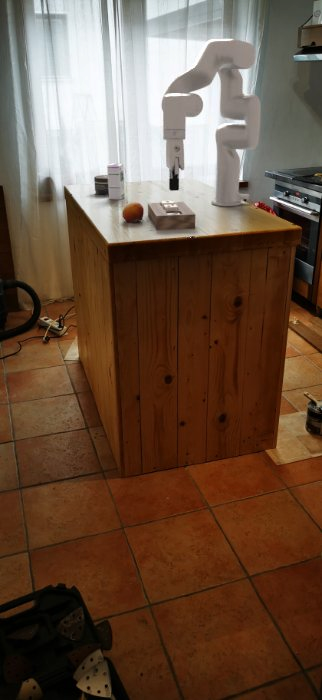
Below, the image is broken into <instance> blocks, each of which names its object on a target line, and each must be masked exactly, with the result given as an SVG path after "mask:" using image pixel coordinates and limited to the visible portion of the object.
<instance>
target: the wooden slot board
mask: <svg viewBox="0 0 322 700" xmlns="http://www.w3.org/2000/svg"><path fill="white" fill-rule="evenodd" d="M173 202H174V204H176V205H177V206H178V210H164V206H161V202H148V203H147V217H148V218H149V219H148V220H150V221H151V224H152V225H153V227H154V229H155V230H156V231H163V230H164V231H165V230H166V231H167V230H187V229H188V230H189V229H190V230H192V229H196V213H195V211H193V210H192V209H191V207H189V206H188V205H187V204H186V203H185V202H184V201H173ZM167 213H180V214H171V215H168V214H167Z"/></svg>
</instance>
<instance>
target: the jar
mask: <svg viewBox="0 0 322 700" xmlns="http://www.w3.org/2000/svg"><path fill="white" fill-rule="evenodd" d="M93 180H94V181H93V182H94V191H95V194H96V195H99V196H109V189H108V174H100V175H95V176H94V178H93Z"/></svg>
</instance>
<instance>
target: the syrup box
mask: <svg viewBox="0 0 322 700" xmlns="http://www.w3.org/2000/svg"><path fill="white" fill-rule="evenodd" d="M106 168H107V169H106V170H107V175H108V189H109V195H108V199H109V200H122V199H123V198H125V176H124V175H125V174H124V164H123V163H118V162H116V163H110V164H108V165H107V166H106Z"/></svg>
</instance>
